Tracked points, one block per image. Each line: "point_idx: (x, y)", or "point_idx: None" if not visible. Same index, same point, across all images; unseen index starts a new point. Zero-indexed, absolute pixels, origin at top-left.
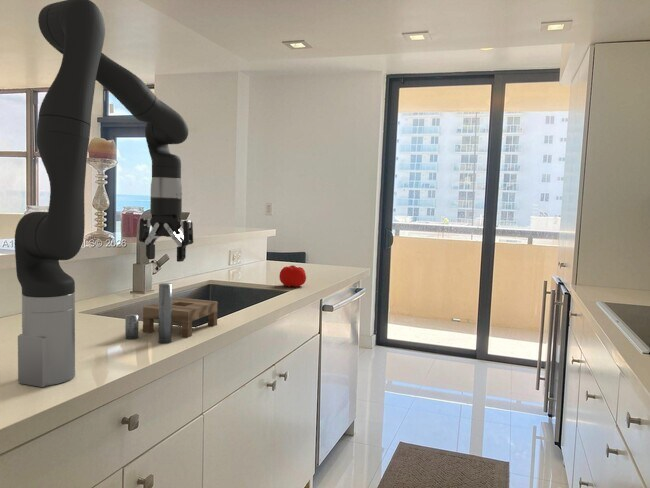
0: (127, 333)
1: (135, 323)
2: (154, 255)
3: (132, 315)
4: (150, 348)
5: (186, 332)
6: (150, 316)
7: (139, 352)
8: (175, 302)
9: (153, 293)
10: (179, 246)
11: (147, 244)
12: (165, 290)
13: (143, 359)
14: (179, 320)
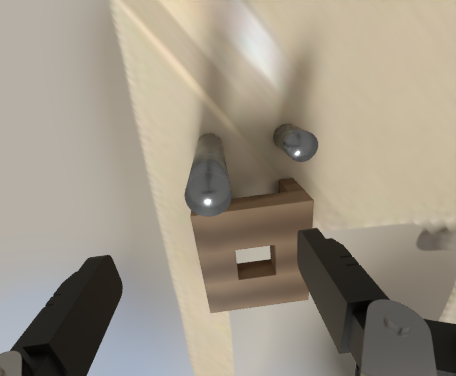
0: (290, 125)
1: (283, 139)
2: (304, 278)
3: (301, 146)
4: (200, 93)
5: None
6: (286, 193)
7: (198, 56)
8: (278, 267)
9: None
10: (9, 353)
11: (374, 302)
12: (193, 173)
13: (151, 14)
14: None
